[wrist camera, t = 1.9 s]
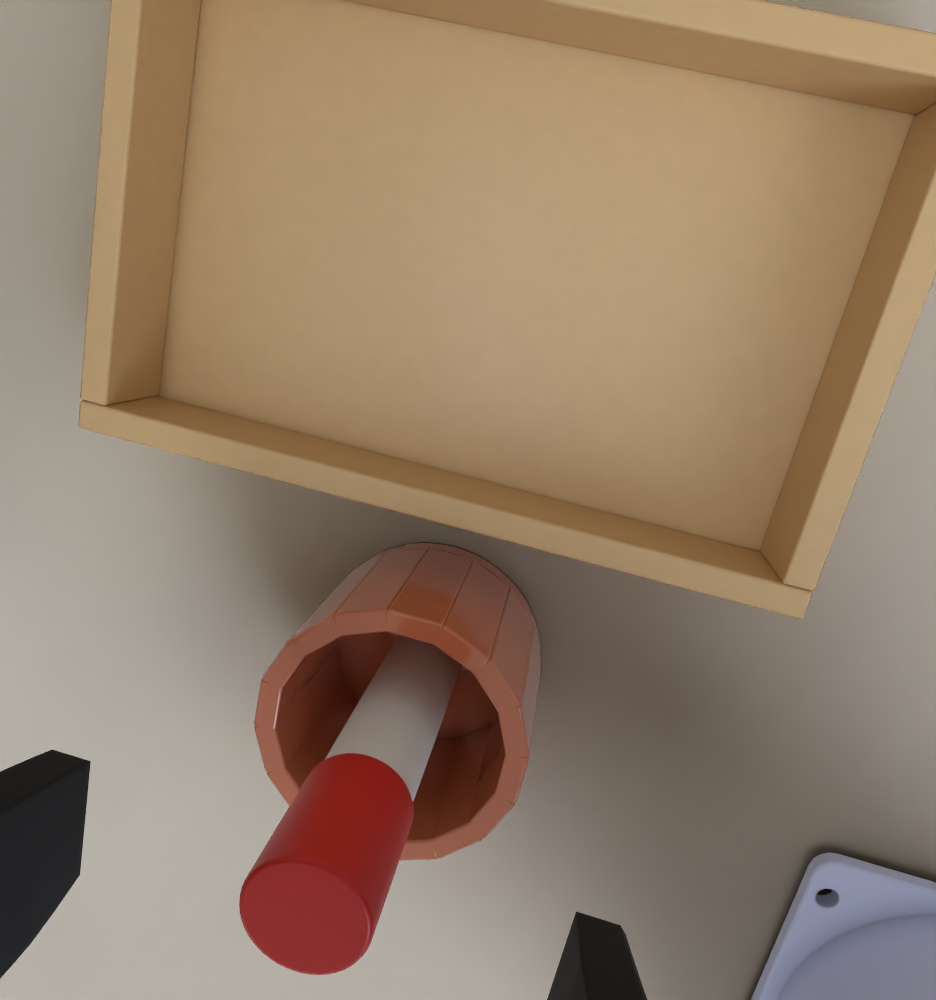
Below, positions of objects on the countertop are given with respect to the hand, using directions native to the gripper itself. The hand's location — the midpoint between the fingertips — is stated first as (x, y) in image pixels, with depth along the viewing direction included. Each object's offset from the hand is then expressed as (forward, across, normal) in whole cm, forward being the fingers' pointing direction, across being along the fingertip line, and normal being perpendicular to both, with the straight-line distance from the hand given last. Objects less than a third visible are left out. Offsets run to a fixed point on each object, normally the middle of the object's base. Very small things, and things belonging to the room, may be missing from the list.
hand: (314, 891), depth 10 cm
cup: (+8, 0, 0) cm, 8 cm away
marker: (+8, 0, 0) cm, 8 cm away
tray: (+8, 0, -9) cm, 12 cm away
